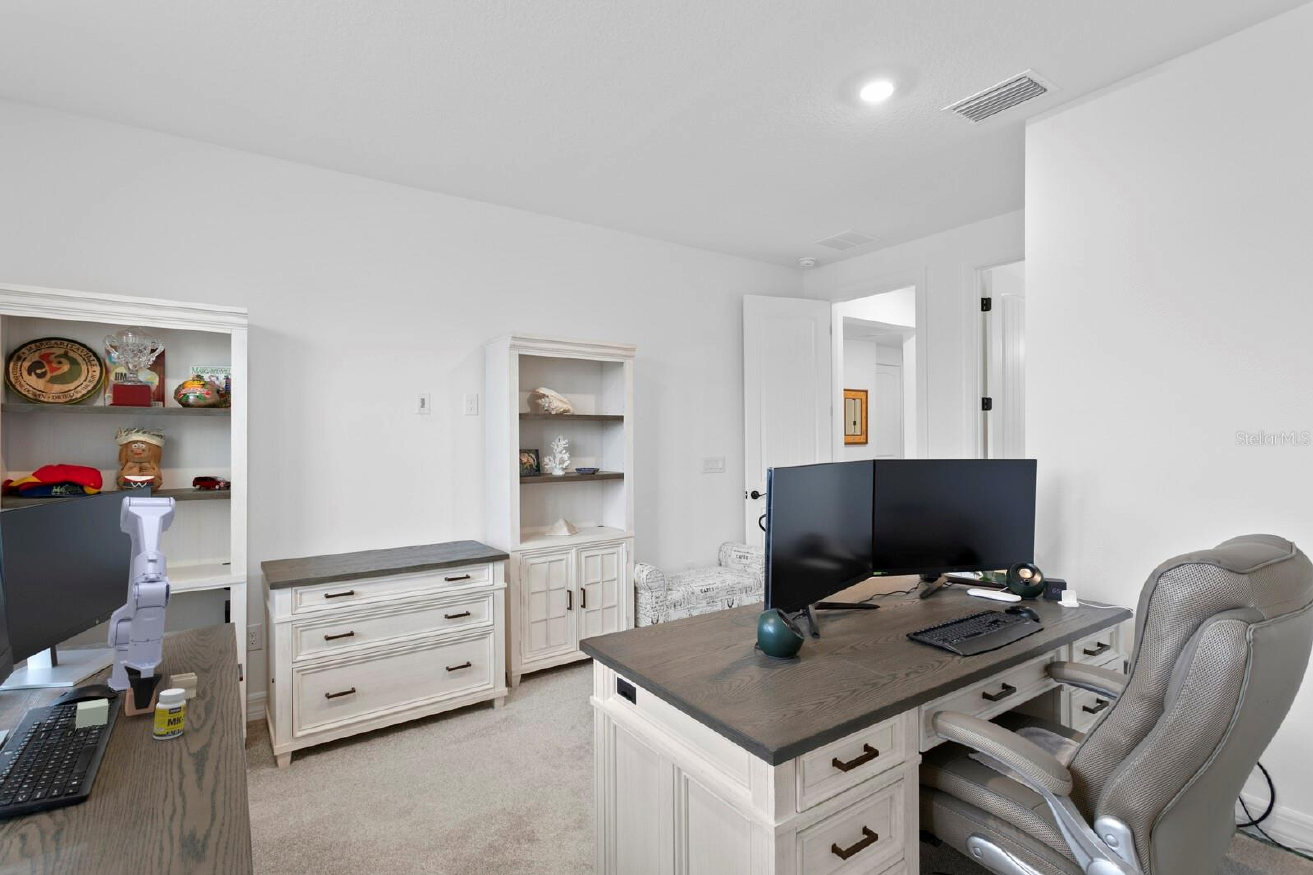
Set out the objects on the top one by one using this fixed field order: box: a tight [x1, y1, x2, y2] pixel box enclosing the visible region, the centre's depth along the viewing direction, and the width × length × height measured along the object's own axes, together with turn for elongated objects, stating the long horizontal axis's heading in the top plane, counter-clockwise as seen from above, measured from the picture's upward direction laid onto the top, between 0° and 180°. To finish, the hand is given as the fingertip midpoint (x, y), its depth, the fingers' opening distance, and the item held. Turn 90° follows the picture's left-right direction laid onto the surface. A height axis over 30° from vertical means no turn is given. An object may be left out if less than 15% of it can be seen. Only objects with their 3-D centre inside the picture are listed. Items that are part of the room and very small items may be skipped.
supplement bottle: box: [152, 688, 187, 741], centre depth 127 cm, size 5×5×8 cm
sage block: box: [75, 698, 110, 730], centre depth 129 cm, size 4×4×4 cm
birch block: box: [168, 672, 198, 700], centre depth 147 cm, size 4×4×4 cm
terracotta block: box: [124, 688, 157, 717], centre depth 138 cm, size 4×4×4 cm
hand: (140, 703), depth 138 cm, fingers open, 7 cm apart
